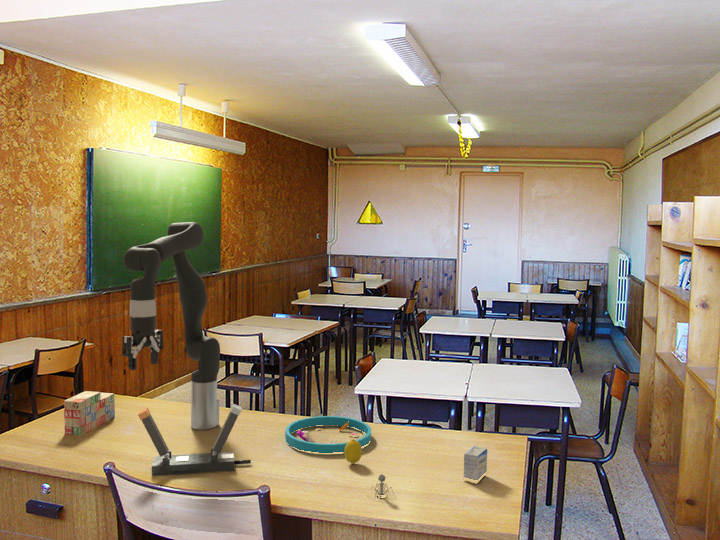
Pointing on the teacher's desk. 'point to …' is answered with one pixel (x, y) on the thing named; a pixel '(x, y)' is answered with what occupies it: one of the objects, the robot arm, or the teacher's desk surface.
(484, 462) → the medicine box
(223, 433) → the lever
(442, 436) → the teacher's desk surface
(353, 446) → the lemon
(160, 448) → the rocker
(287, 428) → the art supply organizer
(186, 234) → the robot arm
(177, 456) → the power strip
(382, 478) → the bacteriophage
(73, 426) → the stack of blocks
